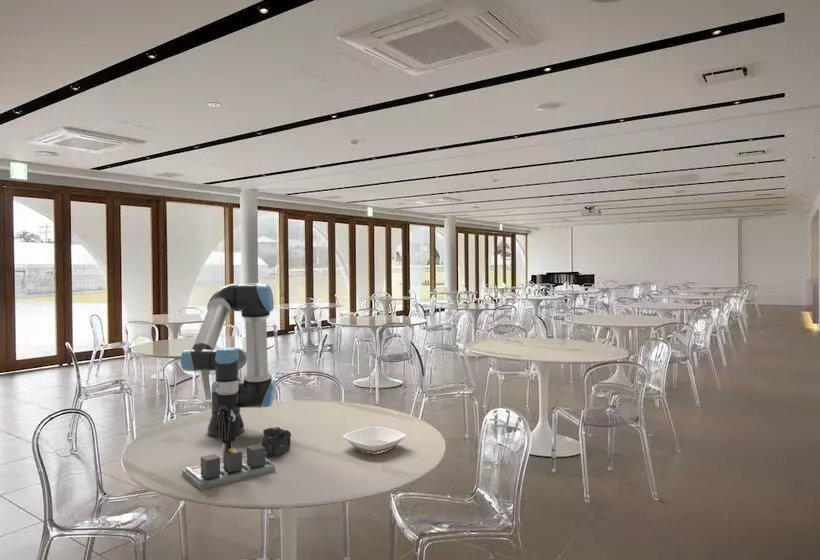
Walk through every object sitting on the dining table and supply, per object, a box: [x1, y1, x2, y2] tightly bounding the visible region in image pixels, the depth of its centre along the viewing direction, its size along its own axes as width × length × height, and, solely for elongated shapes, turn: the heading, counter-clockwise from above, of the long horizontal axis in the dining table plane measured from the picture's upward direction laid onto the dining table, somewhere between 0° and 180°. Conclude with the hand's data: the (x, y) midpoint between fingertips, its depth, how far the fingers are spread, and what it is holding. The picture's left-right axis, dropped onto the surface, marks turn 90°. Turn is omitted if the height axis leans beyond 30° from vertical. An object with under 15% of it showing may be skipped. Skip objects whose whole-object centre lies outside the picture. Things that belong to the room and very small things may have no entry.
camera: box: [261, 426, 292, 458], centre depth 214 cm, size 13×10×10 cm
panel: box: [182, 454, 276, 491], centre depth 192 cm, size 17×26×3 cm, turn 130°
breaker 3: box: [246, 443, 266, 468], centre depth 194 cm, size 5×4×6 cm
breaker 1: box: [200, 453, 221, 479], centre depth 183 cm, size 5×4×6 cm
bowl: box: [342, 426, 407, 453], centre depth 219 cm, size 22×22×5 cm
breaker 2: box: [224, 447, 243, 473], centre depth 189 cm, size 5×4×6 cm
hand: (227, 460), depth 193 cm, fingers closed
